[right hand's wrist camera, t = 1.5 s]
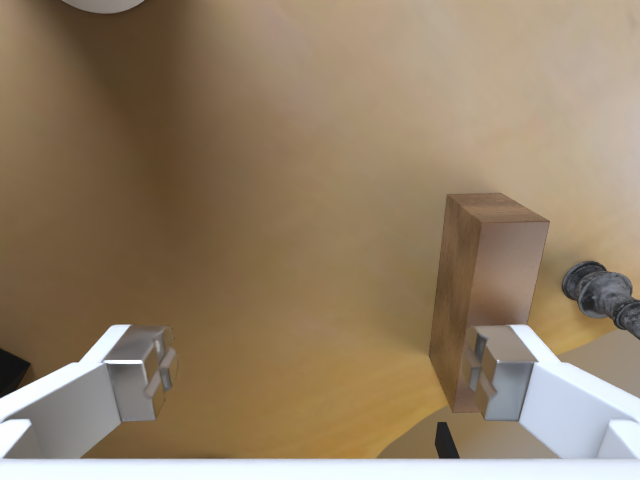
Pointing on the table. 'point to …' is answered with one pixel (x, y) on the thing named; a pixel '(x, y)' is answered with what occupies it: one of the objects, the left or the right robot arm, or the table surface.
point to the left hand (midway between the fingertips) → (515, 431)
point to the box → (481, 279)
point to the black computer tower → (11, 372)
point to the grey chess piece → (603, 295)
